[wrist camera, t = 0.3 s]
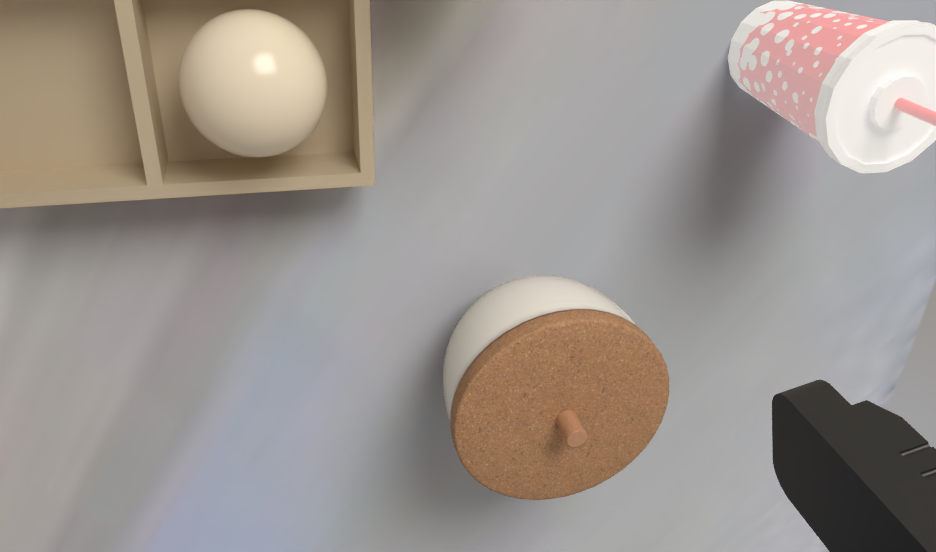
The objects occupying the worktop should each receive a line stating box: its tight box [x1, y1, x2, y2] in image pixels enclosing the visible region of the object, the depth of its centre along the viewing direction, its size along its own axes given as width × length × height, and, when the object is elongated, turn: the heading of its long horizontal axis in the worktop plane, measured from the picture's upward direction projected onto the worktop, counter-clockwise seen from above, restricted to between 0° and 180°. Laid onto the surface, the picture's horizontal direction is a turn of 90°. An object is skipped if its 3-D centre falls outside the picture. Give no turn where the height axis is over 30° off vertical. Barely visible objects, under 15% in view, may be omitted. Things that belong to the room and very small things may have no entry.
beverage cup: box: [728, 1, 936, 173], centre depth 33 cm, size 6×6×14 cm
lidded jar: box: [443, 275, 669, 500], centre depth 40 cm, size 11×11×9 cm
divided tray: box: [0, 0, 375, 209], centre depth 31 cm, size 9×18×3 cm, turn 88°
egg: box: [178, 9, 328, 157], centre depth 31 cm, size 6×6×6 cm
